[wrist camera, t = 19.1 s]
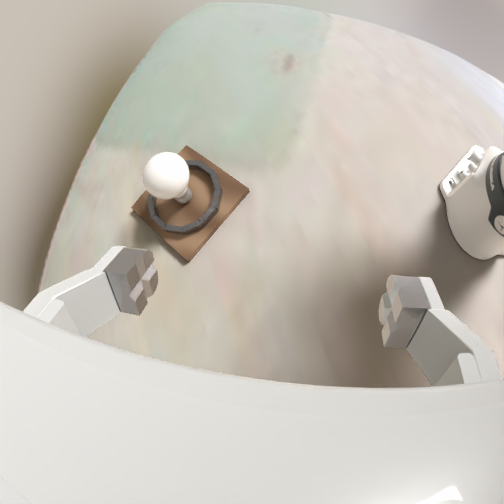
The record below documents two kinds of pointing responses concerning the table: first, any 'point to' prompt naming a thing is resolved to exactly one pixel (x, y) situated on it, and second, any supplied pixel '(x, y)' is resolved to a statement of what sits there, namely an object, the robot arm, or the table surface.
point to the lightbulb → (167, 177)
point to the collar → (206, 216)
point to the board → (193, 206)
